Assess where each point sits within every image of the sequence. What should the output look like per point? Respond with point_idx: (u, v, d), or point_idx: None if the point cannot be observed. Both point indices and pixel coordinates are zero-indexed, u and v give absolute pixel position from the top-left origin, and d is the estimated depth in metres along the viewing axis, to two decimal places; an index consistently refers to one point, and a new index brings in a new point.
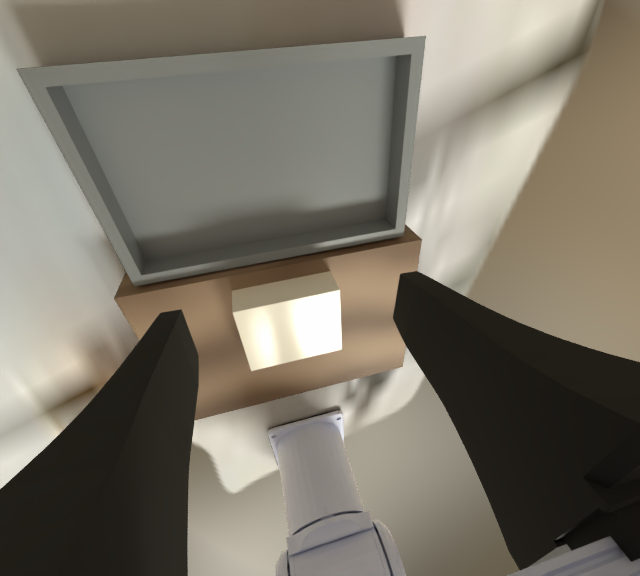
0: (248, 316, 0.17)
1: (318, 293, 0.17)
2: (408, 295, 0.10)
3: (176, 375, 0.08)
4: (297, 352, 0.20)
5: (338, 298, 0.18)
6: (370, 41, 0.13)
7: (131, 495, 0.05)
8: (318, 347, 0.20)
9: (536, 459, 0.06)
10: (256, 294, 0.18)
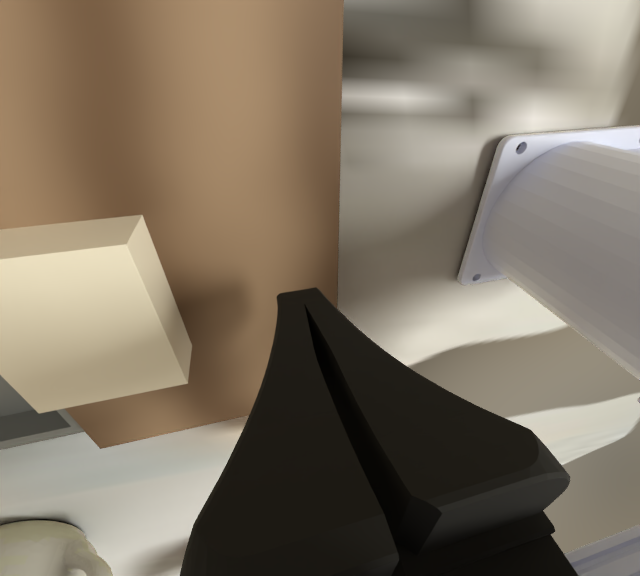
0: (43, 398, 0.11)
1: None
2: None
3: None
4: (138, 328, 0.10)
5: None
6: None
7: None
8: (120, 294, 0.09)
9: None
10: None
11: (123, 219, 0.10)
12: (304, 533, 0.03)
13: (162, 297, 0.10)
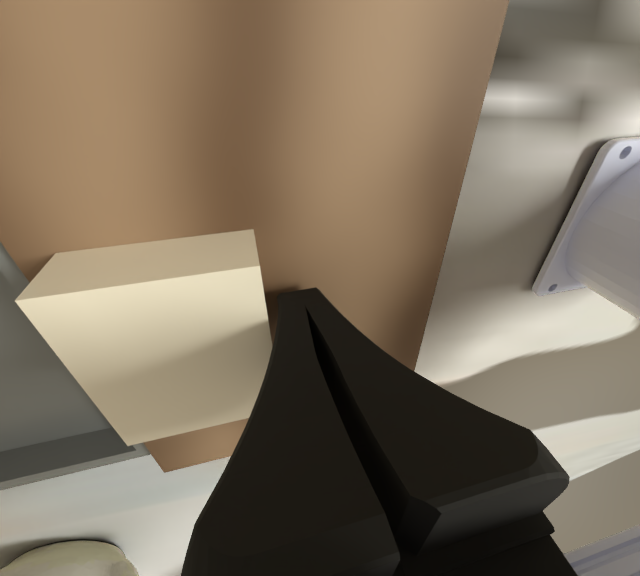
0: (135, 430, 0.10)
1: (48, 339, 0.07)
2: None
3: None
4: (248, 355, 0.09)
5: (49, 299, 0.07)
6: None
7: None
8: (240, 319, 0.08)
9: None
10: None
11: (236, 235, 0.09)
12: (305, 533, 0.03)
13: None
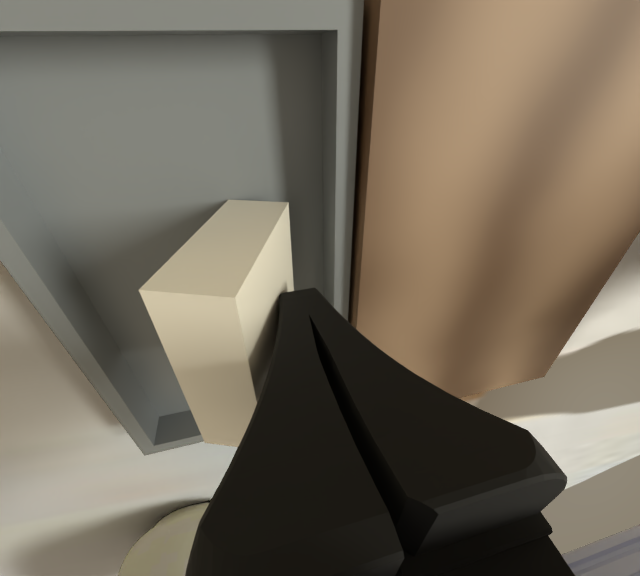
0: None
1: None
2: None
3: None
4: None
5: None
6: None
7: None
8: None
9: None
10: None
11: (230, 282, 0.06)
12: (309, 531, 0.03)
13: (210, 375, 0.08)
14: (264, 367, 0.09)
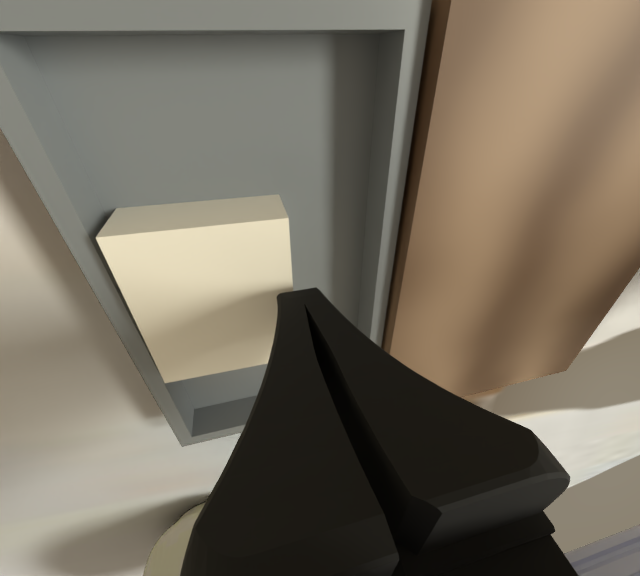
0: None
1: None
2: None
3: None
4: None
5: None
6: (12, 145, 0.07)
7: None
8: None
9: None
10: None
11: (118, 231, 0.08)
12: (304, 533, 0.03)
13: None
14: (167, 322, 0.10)
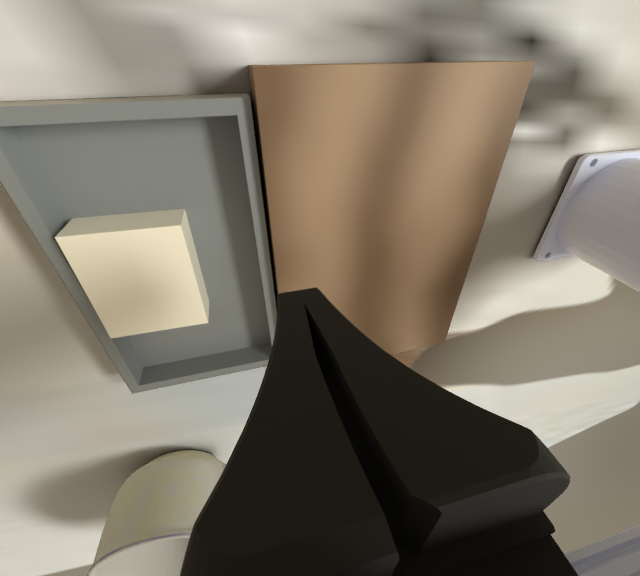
0: None
1: (190, 231, 0.16)
2: None
3: None
4: None
5: None
6: (3, 184, 0.12)
7: None
8: None
9: None
10: (203, 294, 0.17)
11: (69, 233, 0.13)
12: (304, 532, 0.03)
13: None
14: (107, 293, 0.15)
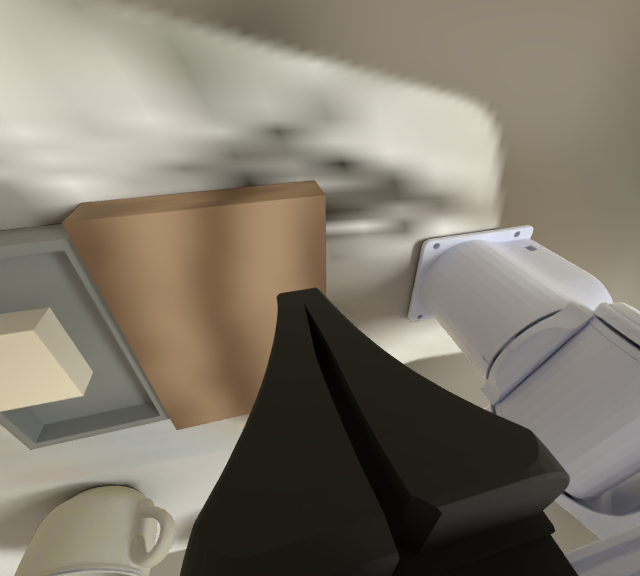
0: None
1: (59, 323, 0.19)
2: None
3: None
4: None
5: (38, 310, 0.18)
6: None
7: None
8: None
9: None
10: (78, 372, 0.20)
11: None
12: (304, 534, 0.03)
13: None
14: None
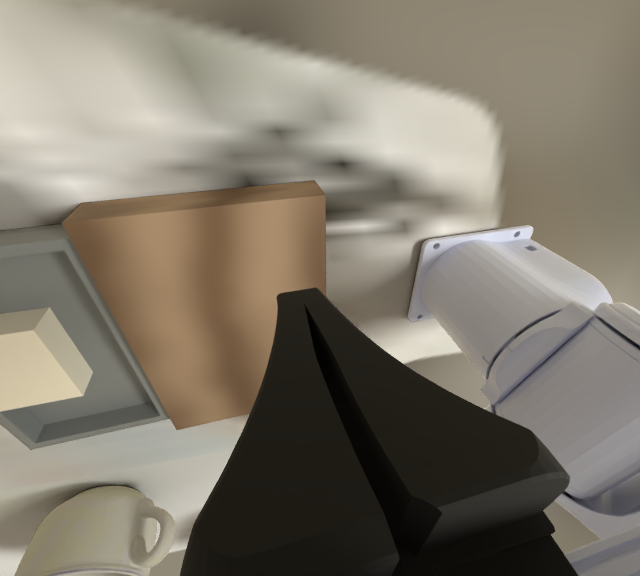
0: None
1: (59, 323, 0.19)
2: None
3: None
4: None
5: (38, 310, 0.18)
6: None
7: None
8: None
9: None
10: (78, 372, 0.20)
11: None
12: (304, 534, 0.03)
13: None
14: None
